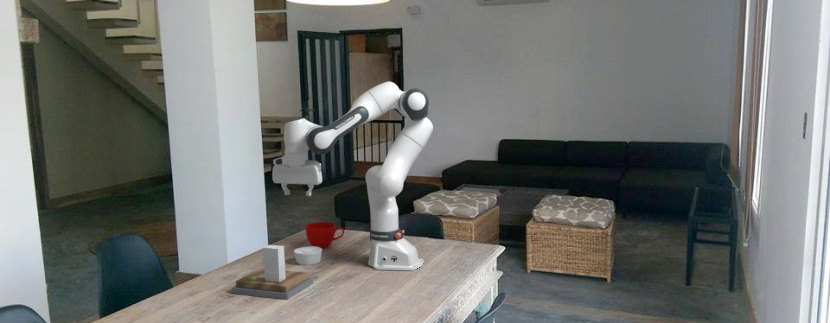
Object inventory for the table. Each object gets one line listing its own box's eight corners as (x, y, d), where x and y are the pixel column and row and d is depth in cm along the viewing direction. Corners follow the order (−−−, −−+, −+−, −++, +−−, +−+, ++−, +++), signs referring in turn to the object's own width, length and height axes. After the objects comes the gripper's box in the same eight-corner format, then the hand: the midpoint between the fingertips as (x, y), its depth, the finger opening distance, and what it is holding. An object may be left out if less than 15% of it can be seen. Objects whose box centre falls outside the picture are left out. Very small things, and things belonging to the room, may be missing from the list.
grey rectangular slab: (313, 283, 228) (312, 277, 228) (287, 299, 211) (287, 293, 211) (260, 278, 235) (260, 272, 235) (232, 293, 218) (231, 287, 218)
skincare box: (285, 279, 220) (284, 245, 218) (279, 282, 216) (278, 248, 214) (270, 277, 222) (269, 244, 220) (264, 281, 218) (262, 247, 216)
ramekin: (289, 264, 252) (288, 252, 251) (304, 257, 262) (303, 245, 262) (313, 267, 248) (312, 254, 247) (327, 260, 258) (326, 247, 258)
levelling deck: (309, 278, 227) (308, 267, 226) (286, 292, 212) (285, 280, 211) (261, 273, 233) (260, 263, 233) (235, 286, 218) (235, 275, 218)
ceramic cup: (342, 250, 271) (342, 228, 270) (303, 251, 272) (302, 228, 270) (346, 243, 284) (345, 221, 283) (309, 243, 285) (308, 222, 283)
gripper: (324, 159, 241) (325, 194, 243) (278, 158, 248) (279, 192, 250) (316, 161, 236) (317, 197, 237) (269, 160, 242) (271, 195, 244)
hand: (297, 195), depth 244 cm, fingers open, 8 cm apart
